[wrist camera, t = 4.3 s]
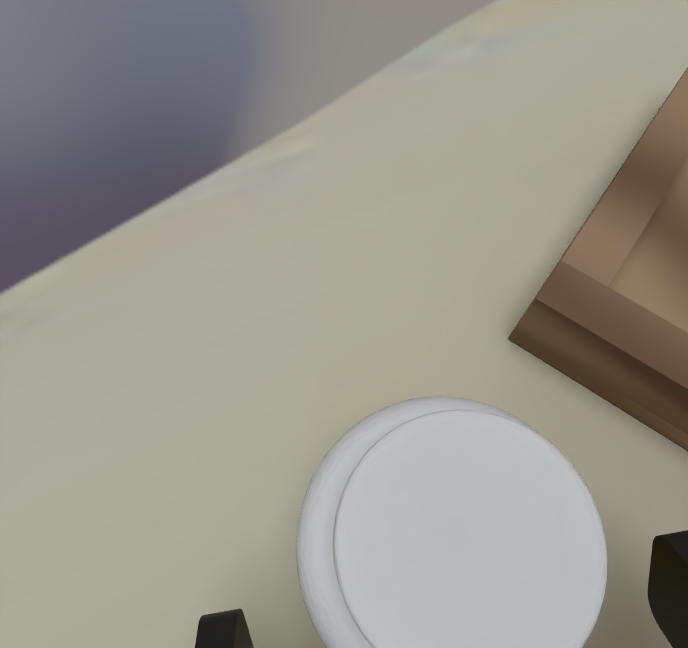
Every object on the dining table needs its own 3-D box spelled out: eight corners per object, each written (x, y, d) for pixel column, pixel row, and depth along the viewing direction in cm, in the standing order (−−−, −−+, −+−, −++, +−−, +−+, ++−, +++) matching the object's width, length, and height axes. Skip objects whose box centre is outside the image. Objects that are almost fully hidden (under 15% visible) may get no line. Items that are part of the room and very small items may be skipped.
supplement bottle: (544, 560, 18) (758, 577, 8) (405, 694, 17) (461, 895, 7) (421, 418, 19) (477, 292, 10) (286, 530, 18) (200, 513, 9)
